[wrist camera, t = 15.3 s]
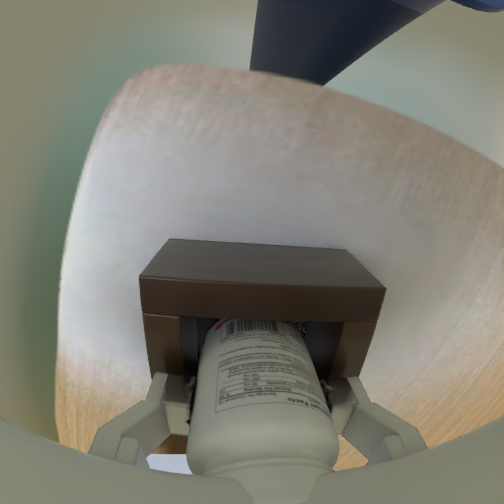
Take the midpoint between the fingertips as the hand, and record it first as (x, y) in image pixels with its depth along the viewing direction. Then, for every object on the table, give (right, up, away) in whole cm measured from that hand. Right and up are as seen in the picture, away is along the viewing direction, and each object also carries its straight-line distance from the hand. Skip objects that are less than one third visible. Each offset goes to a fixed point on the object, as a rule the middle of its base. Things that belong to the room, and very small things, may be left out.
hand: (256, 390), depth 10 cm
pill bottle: (0, +1, +3) cm, 3 cm away
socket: (0, +2, +5) cm, 5 cm away
